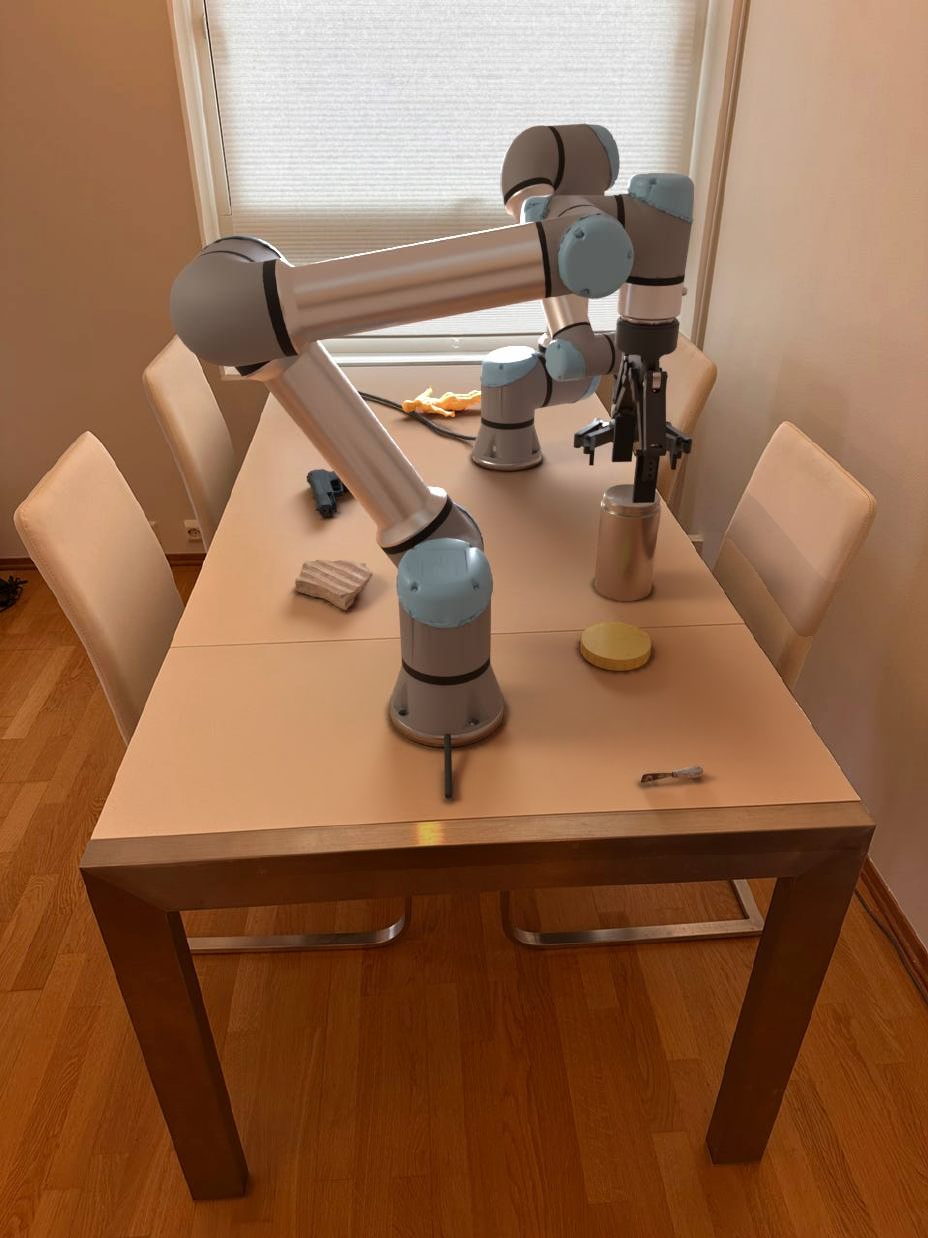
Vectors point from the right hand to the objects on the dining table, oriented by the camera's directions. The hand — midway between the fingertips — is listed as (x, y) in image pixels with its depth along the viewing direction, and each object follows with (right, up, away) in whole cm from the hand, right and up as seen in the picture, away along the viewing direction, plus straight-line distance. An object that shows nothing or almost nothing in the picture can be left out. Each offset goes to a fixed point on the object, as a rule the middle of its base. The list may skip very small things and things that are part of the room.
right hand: (632, 460), depth 149 cm
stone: (-50, -22, 0) cm, 55 cm away
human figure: (-32, +26, +77) cm, 87 cm away
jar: (-2, -21, +1) cm, 21 cm away
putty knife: (-3, -46, -40) cm, 61 cm away
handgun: (-53, -2, +32) cm, 62 cm away
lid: (-6, -30, -16) cm, 34 cm away
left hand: (-6, -8, -30) cm, 31 cm away
